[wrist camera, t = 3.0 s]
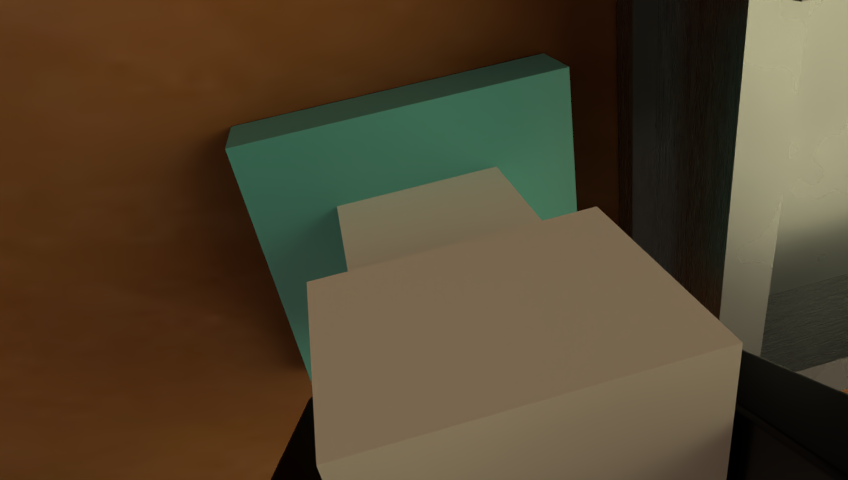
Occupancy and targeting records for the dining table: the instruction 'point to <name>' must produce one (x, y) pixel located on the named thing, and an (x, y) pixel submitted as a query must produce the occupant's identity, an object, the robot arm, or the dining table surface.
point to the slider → (478, 292)
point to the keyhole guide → (743, 165)
